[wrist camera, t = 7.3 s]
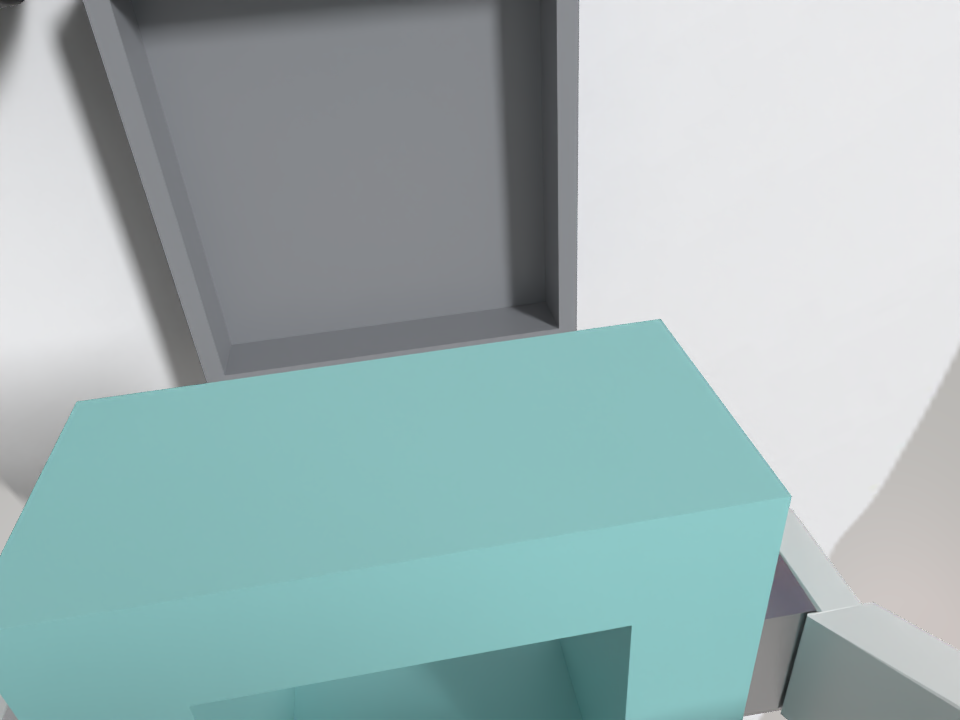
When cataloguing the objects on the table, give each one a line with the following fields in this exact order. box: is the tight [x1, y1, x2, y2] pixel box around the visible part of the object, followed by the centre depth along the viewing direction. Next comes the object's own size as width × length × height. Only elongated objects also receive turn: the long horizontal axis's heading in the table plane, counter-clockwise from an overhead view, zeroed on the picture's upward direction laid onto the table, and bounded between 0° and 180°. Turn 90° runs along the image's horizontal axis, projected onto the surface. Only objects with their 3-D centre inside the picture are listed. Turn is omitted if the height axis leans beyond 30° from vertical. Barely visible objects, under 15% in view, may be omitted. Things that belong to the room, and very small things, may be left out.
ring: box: [0, 319, 792, 720], centre depth 9 cm, size 6×6×3 cm
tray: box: [83, 0, 579, 383], centre depth 23 cm, size 12×12×2 cm
